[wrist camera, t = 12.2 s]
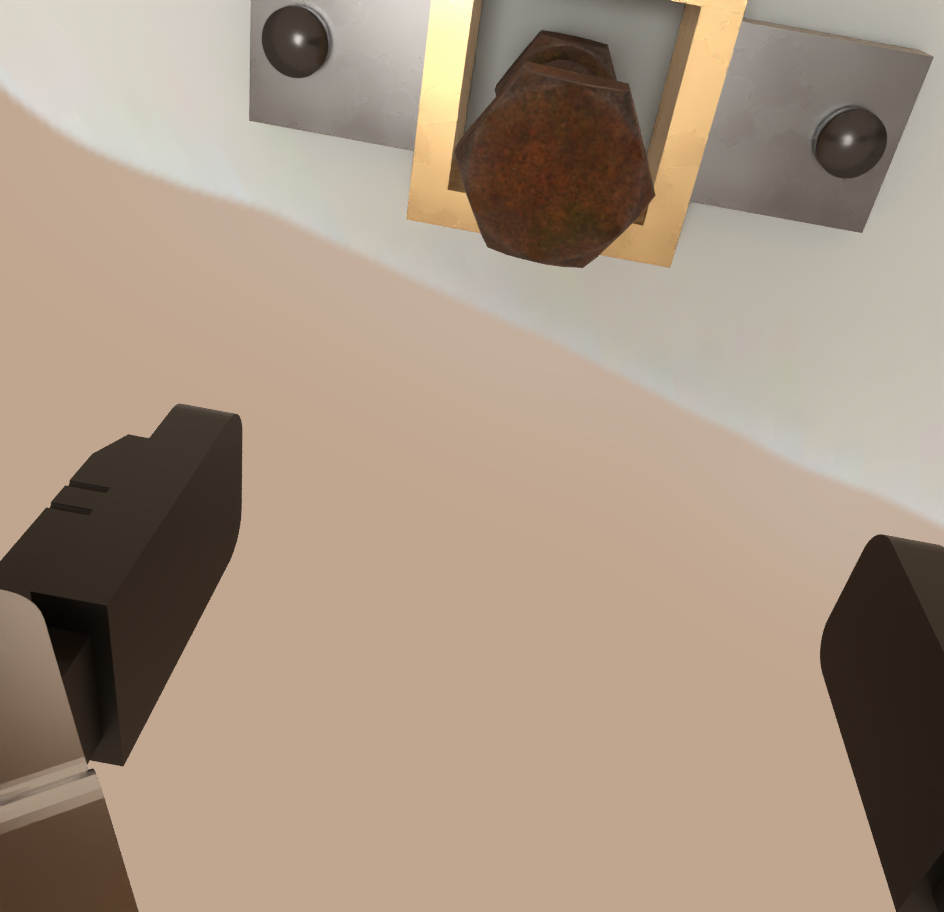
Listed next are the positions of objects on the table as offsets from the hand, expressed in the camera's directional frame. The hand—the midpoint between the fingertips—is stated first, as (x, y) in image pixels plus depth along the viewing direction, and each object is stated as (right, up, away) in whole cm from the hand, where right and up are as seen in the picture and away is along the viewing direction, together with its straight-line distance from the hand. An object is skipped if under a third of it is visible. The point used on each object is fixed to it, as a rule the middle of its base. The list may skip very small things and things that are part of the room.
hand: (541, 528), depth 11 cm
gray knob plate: (+12, +15, +26) cm, 32 cm away
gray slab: (-6, +18, +26) cm, 32 cm away
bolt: (+3, +17, +26) cm, 31 cm away
